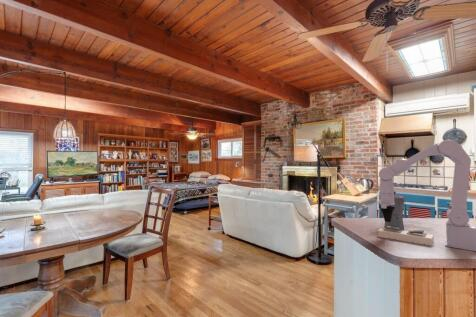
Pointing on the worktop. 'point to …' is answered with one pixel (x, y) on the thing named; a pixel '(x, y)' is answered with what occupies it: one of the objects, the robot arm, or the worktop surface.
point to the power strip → (406, 236)
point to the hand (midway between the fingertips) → (387, 221)
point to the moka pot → (397, 213)
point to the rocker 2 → (416, 231)
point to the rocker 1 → (392, 228)
